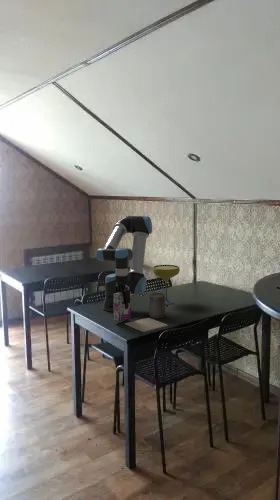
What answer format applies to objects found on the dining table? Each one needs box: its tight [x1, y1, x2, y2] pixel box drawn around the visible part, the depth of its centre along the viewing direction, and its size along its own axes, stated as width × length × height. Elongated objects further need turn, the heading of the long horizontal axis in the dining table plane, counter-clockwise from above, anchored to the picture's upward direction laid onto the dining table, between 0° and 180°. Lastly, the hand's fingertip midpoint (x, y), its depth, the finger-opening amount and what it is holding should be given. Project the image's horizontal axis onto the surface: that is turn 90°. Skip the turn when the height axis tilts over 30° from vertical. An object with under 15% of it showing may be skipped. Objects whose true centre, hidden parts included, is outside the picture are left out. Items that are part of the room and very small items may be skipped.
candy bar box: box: [113, 291, 132, 323], centre depth 265 cm, size 11×5×16 cm, turn 140°
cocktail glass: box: [152, 264, 180, 306], centre depth 307 cm, size 18×18×25 cm
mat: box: [124, 317, 169, 333], centre depth 260 cm, size 18×18×1 cm
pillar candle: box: [148, 292, 166, 319], centre depth 277 cm, size 10×10×15 cm
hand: (122, 312), depth 266 cm, fingers closed on candy bar box, 6 cm apart
